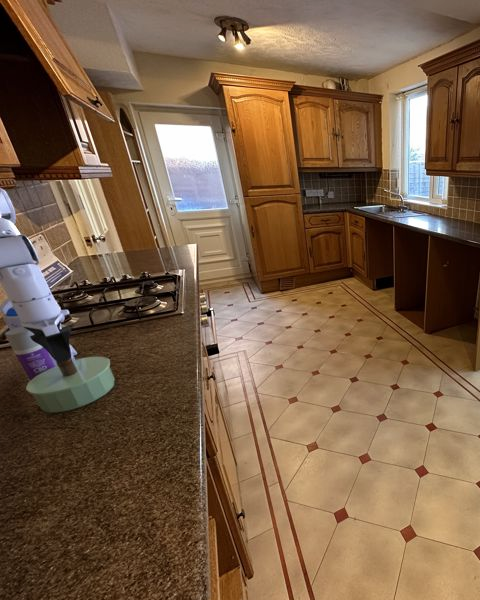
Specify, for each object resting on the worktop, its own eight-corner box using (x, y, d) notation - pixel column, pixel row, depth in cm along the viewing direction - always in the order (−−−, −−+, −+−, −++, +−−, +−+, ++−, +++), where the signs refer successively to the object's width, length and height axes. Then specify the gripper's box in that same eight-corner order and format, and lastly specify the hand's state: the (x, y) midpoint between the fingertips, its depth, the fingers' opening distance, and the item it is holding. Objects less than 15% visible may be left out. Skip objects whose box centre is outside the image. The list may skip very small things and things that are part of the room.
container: (45, 392, 74) (14, 336, 69) (30, 390, 75) (-3, 334, 69) (68, 380, 79) (40, 326, 73) (53, 378, 80) (24, 324, 74)
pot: (35, 397, 73) (25, 379, 71) (106, 370, 82) (98, 354, 80) (47, 421, 66) (36, 402, 64) (122, 388, 75) (114, 371, 73)
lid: (23, 381, 71) (13, 364, 69) (101, 354, 81) (94, 338, 79) (34, 406, 64) (23, 387, 62) (119, 372, 74) (112, 355, 72)
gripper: (67, 298, 64) (93, 356, 69) (51, 284, 72) (76, 337, 77) (14, 311, 58) (47, 373, 64) (4, 294, 66) (34, 350, 72)
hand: (60, 354), depth 70 cm, fingers open, 7 cm apart
